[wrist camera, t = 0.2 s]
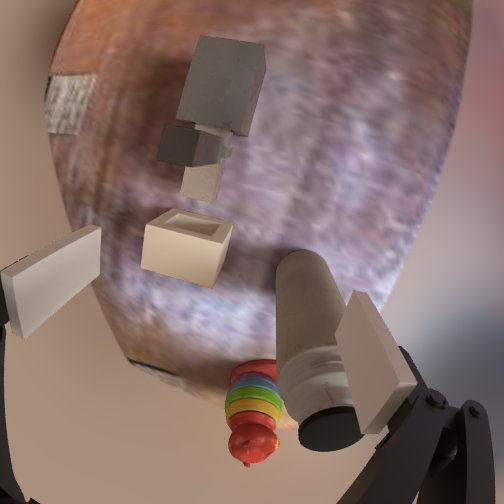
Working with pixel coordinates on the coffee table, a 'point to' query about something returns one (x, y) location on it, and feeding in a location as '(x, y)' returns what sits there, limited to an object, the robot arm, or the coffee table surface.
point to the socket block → (186, 246)
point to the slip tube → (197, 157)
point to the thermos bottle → (312, 353)
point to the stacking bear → (253, 411)
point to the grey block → (223, 84)
